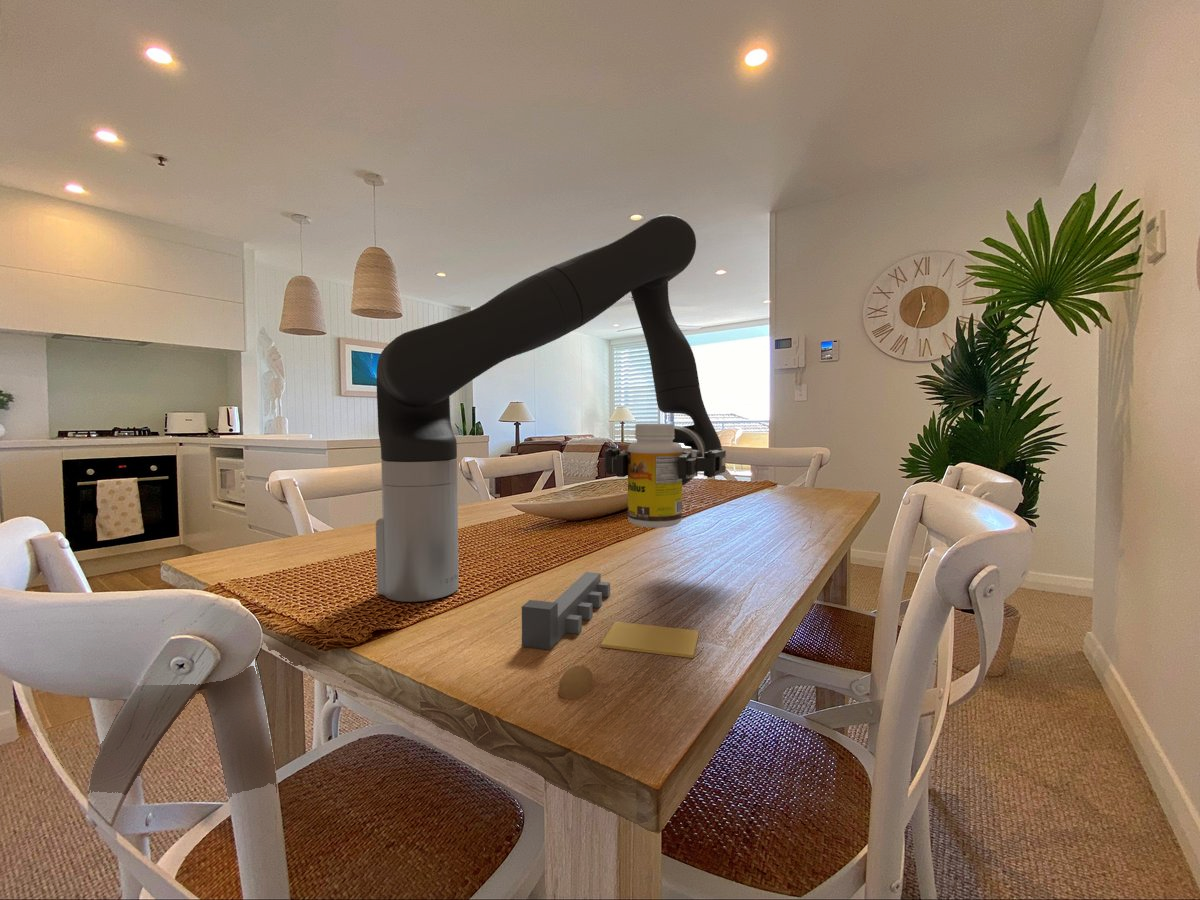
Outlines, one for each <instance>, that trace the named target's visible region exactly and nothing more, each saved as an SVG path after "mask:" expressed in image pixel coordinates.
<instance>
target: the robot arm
mask: <svg viewBox="0 0 1200 900" xmlns="http://www.w3.org/2000/svg"><path fill="white" fill-rule="evenodd" d="M696 247H697V238H696V234H695V231H694V229H693V227H692V226H691V225H690V224H689V223H688V222H687V221H686V220H684V219H683V218H681V217H679V216H677V215H673V214H661V215H656V216H654V217H652V218H650V219H649V220H647V221H646V222H644V223H642V224H641V225H640V226H638V227H636V228H635V229H633V230H632V231H630V232H628V233H626V234H625V235H623V236H622V237H620V238H618V239H616V240H614V241H613V242H611V243H609V244H606V245H604V246H601V247H598V248H594V249H593V250H590V251H588V252H585V253H582V254H579V255H577V256H575V257H572V258H569V259H567V260H565V261H562V262H560V263H558V264H557V263H556V264H554V265H552V266H550V267H548V268H546V269H544V270H541V271H538V272H536V273H535V274H533V275H530V276H528V277H526V278H524V279H522V280H521V281H518V282H517V283H515V284H513V285H512V286H510V287H508V288H507V289H504V290H503V291H501V292H500V293H498V294H497V295H496V296H494V297H493V298H491V299H490V300H488V301H486V302H485V303H483V304H482V305H480V306H478V307H476V308H474V309H472V310H469V311H467V312H465V313H462V314H459V315H456V316H453V317H451V318H447V319H445V320H443V321H439V322H436V323H433V324H432V323H431V324H429V325H426V326H422V327H419V328H416V329H413V330H412V329H411V330H409V331H406V332H403V333H401V334H400V335H398V336H397V337H395V338H394V339H393V340H391V341H390V342H389V343H388V344H387V345H386V346H385V347H384V348H383V350H382V351H381V353H380V355H379V356H378V357H379V358H378V359H377V364H376V405H377V406H376V407H377V409H376V410H377V427H378V428H377V432H378V438H379V444H380V459H381V462H380V463H381V501H382V504H381V505H382V518H379V519H377V520H376V522H375V544H376V545H375V546H376V547H375V549H376V550H375V551H376V552H375V553H376V554H375V555H376V559H375V560H376V594H377V595H383V596H384V597H385V598H387V599H389V600H391V601H397V602H406V603H407V602H409V603H412V602H425V601H432V600H437V599H440V598H444V597H447V596H450V595H451V594H453V593H455V592H456V591H458V589H459V587H460V586H459V576H460V572H459V514H458V513H459V512H458V510H459V508H458V507H459V505H458V504H459V503H458V501H459V499H458V491H459V490H458V447H457V446H458V444H457V442H458V441H457V439H456V436H455V434H454V430H453V428H452V427H453V426H452V423H451V404H450V403H451V401H450V399H451V398H450V397H451V396H452V395H453V394H455V393H456V392H457V391H459V390H460V389H462V388H463V387H465V386H466V385H467V384H469V383H470V382H472V381H473V380H474V379H476V378H477V377H479V376H481V375H482V374H484V373H485V372H487V371H489V370H490V369H492V368H493V367H495V366H496V365H498V364H500V363H502V362H504V361H506V360H508V359H510V358H513V357H515V356H519V355H522V354H524V353H527V352H530V351H533V350H535V349H538V348H541V347H542V346H545V345H547V344H549V343H551V342H555V341H557V340H558V339H560V338H562V337H564V336H566V335H568V334H569V333H572V332H574V331H575V330H577V329H579V328H581V327H583V326H584V325H586V324H588V323H589V322H591V321H592V320H594V319H595V318H596V317H598V316H600V315H601V314H602V313H604V312H605V311H606V310H608V309H609V308H610V307H612V306H613V305H614V304H616V303H617V302H619V301H620V300H622V299H623V298H624V297H626V296H627V294H629V293H631V296H632V300H633V303H634V306H635V310H636V312H637V316H638V320H639V321H640V326H641V328H642V332H643V335H644V339H645V342H646V347H647V350H648V355H649V361H650V366H651V367H650V368H651V373H652V379H653V386H654V391H655V399H656V404H657V407H658V410H660V412H662V413H665V414H681V415H686V416H688V417H690V418H691V420H692V422H693V424H691V425H686V426H680V425H679V426H678V425H674V434H675V435H674V437H675V439H673V442H674V443H678V444H680V445H681V446H682V455H681V456H679V479H682V487H683V486H685V485H687V484H688V483H689V482H691V480H693V479H694V478H695V477H698V475H699V473H701V472H703V477H706V478H713V477H716V476H718V475H721V474H724V473H726V465H727V464H726V462H727V461H726V460H727V459H726V457H727V453H726V451H727V450H726V449H723V448H722V443H721V440H720V437H719V435H718V433H717V431H716V429H715V426H714V425H713V423H712V421H711V419H710V417H709V414H708V412H707V410H706V407H705V405H704V400H703V396H702V393H701V387H700V386H701V385H700V380H699V374H698V368H697V363H696V358H695V355H694V353H693V350H692V347H691V344H690V343H689V341H688V339H687V338H686V335H684V333H683V331H682V330H681V328H680V327H679V324H678V323H677V322H676V319H675V317H674V315H673V312H672V309H671V305H670V300H669V282H670V281H671V280H673V279H674V278H675V277H677V276H679V274H680V273H682V272H684V271H685V270H686V269H687V267H688V266H689V265H690V263H691V262H692V260H693V258H694V256H695V255H696V249H697V248H696ZM604 474H608V475H613V474H615V475H616V477H618V478H625V477H628V449H622V448H618V447H617V448H616V447H615V446H612V447H608V448H607V449H605V450H604Z"/></svg>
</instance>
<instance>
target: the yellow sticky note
mask: <svg viewBox="0 0 1200 900" xmlns="http://www.w3.org/2000/svg"><path fill="white" fill-rule="evenodd" d="M699 635H700V630H697V629H696V630H695V629H687V628H679V627H678V628H677V627H669V626H658V625H653V624H652V625H651V624H643V623H641V624H640V623H633V622H632V623H630V622H622V621H614V623H613V625H612V626H611V628H610V629H609V631H608V632H607V634H606V636H605V637H604V638H603V640H602V641H601V643H600V648H608V649H615V650H622V651H631V652H632V651H633V652H639V653H648V654H657V655H664V656H673V657H674V656H675V657H679V658H688V659H694V657H695V651H696V648H697V643H698V639H699Z"/></svg>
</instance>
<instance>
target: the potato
mask: <svg viewBox="0 0 1200 900" xmlns="http://www.w3.org/2000/svg"><path fill="white" fill-rule="evenodd" d="M593 684H594V680H593V674H592V672H591V671H590V669H589V668H588V667H587V666H584V665H575V666H572V667H570V668H569V669H567V670H566V671H565V673H563V674H562V676H561V679H560V680H559V684H558V685H559V686H558V693H557V694H558V695H559V696H560V697H561V698H563V699H567V700H575V699H579V698H581V697H583V696H585V695H586V694H587V693H588V692H589V691H591V689H592V688H593Z"/></svg>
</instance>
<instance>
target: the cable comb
mask: <svg viewBox="0 0 1200 900" xmlns="http://www.w3.org/2000/svg"><path fill="white" fill-rule="evenodd" d="M601 575H602V574H601V573H600V572H590V571H585V572H584V573H583V574H582V575H581V576H580V577H579V578H578V579H577V580H575V582H574V583H572V584H571V585H570V586H569V587H568V588H567V589H566V590H565V591H564V592H563V593H561V594H560V595H559V596H558V597H557V598H556V599H555V600H554V601H546V600H536V599H529V600H528V601H526V602H525V603H524V604H523V605H522V606H521V647H524V648H531V649H538V650H539V649H540V650H549V651H551V650H552V649H553V648H554V646H555V645H556V644H557V643H558V642H559V641H560V640H561V638H562V637H564V635H565V634H566V633H568V634H577V635H578V634H580V633H581V631H582V629H583V621H584V620H587V621H590V620H591V619H592V618H593V608H597V609H599V608H600V607H602V605H603V598H609V596H610V595H611V582H607V581H601V579H602V578H601Z"/></svg>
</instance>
